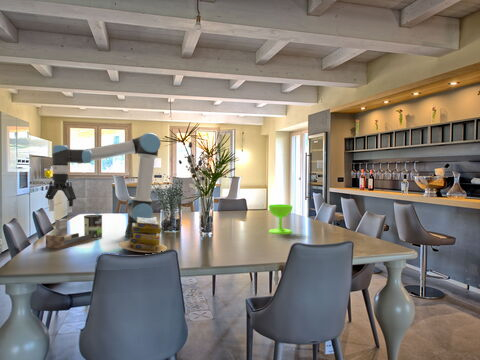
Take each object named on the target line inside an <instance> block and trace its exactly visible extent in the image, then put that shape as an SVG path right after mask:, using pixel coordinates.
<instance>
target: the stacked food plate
mask: <svg viewBox="0 0 480 360" xmlns="http://www.w3.org/2000/svg"><path fill="white" fill-rule="evenodd" d="M136 220H137V223H132V232H131V234H130V237H129V240H124V241H120V242H119V243H118V246H119V247H120V248H123V249H125V250H129V251H132V252H137V253H138V252H139V253H161V251H163V252H165V251H167V249H168V247H167V246H166V245H164V244H162V243H160V241H161V240H160V239H161V237H160V236H159V235H157V234H160V235H161V233H162V226H161V225H160V224H159V223H160V222H159V220H158V218H157V216H154V217H151V218H140V217H137V219H136Z"/></svg>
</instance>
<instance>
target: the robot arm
mask: <svg viewBox="0 0 480 360" xmlns="http://www.w3.org/2000/svg"><path fill="white" fill-rule="evenodd" d="M161 143H162V142H161V139H160V137H159V136H158V135H157V134H155V133H152V132H148V133H144V134H143V135H140V136H139V137H135V138H131V139H130V140H128V141H123V142H118V143H113V144H107V145H103V146H97V147H92V148H87V149H73V148H72V149H71V148H69V146H68V145H63V144H62V145H61V144H60V145H59V144H55V145H53V146H52V181H49V185H48V188H47V191H46V193H45V199H47V200H48V212H54V211H55V196H56V194H57V193H58V191H62V192H63V194H64V196H65V198H66V199H67V201H66V214H67V213H68V214H69V213H73V206H74V200H76V199H77V197H76V195H75V191H74V188H73V187H72V186H73V185H72V184H73V183H72V182H68V180H69V174H68V173H69V164H71V163H73V164H90V163H92V162H94V161H98V160H103V159H108V158H113V157H119V156H123V155H127V154H128V155H129V154H133V155H138V156H139V165H138V172H137V182H136V190H135V191H136V192H135V196H134V197H133V198H132V199H129V200H127V205H126V206H127V226H126V229H125V232H124V235H125V237H128V238H130V234H131V232H132V223H137V220H136V219H137V217H140V218H153V213H154V211H153V208H152V207H153V200H152V199H151V194H152V193H151V192H152V186H153V184H152V183H153V175H154V169H155V168H154V166H155V160H156V159H157V158H158V154H159V150H160V148H161Z"/></svg>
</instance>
